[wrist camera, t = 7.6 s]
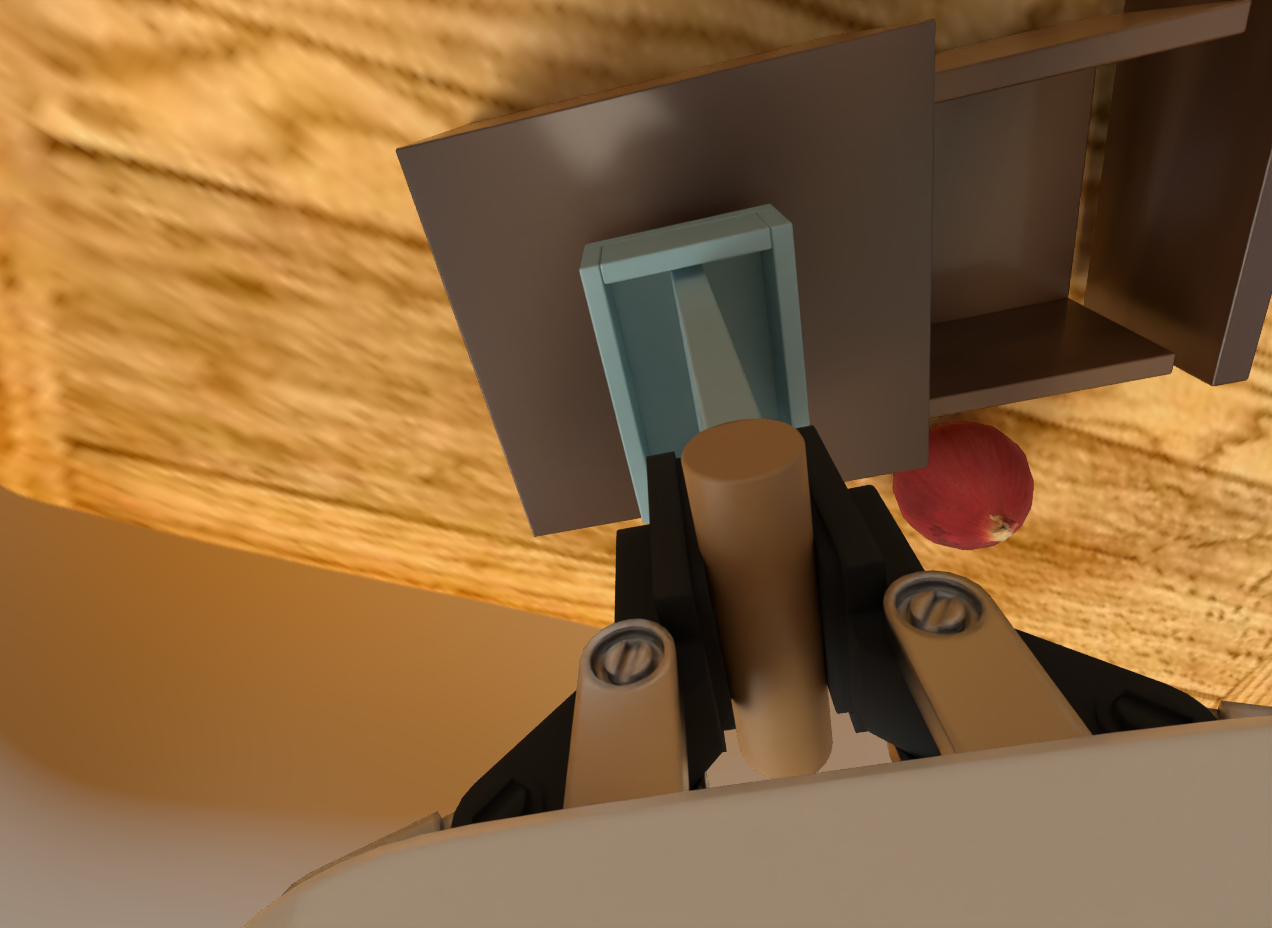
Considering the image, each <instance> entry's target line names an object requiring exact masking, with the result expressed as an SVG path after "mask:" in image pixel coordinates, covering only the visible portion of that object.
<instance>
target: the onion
mask: <svg viewBox="0 0 1272 928" xmlns="http://www.w3.org/2000/svg"><path fill="white" fill-rule="evenodd" d="M1033 490H1034V483H1033V478H1032V475H1031V472H1030V469H1029V466H1028V462H1027V458H1026V455H1025V454H1024V452H1023V451H1022V450H1021V448H1020V447H1019V446H1018V445H1017V444H1016V443H1015V442H1013V441H1012V440H1011V439H1009V438H1008V437H1007V436H1006V435H1004V434H1003V433H1002V432H1000V431H999V430H997V429H996V428H994V427H993V426H989V425H984V424H979V423H974V422H967V421H960V422H953V423H946V424H942V425H939V426H937V427H934V428H932V429H930V430H929V459H928V467H924V468H919V469H913V470H907V471H902V472H896V473H894V478H893V491H894V494H895V497H896V500H897V503H898V505H899V508H900V511H901V513H902V516H903V518H904V519H905V520H906V521H907V522H908V523H909V524H910V525H911V526H912V527H913V528H914V529H915V530H917V531H918V532H919V533H920V534H922V535H923V536H924V537H925V538H927V539H928V540H930V541H932V542H933V543H936V544H940V545H944V546H948V547H953V548H957V549H961V550H973V549H979V548H985V547H991V546H994V545H996V544H998V543H1000V542H1001V541H1005V540H1007V539H1008V538H1009V537H1010V536H1011V535H1012V534H1013V533H1014V532H1016V531H1017V530H1018V529H1019V528H1020V527H1021V526H1022V524H1023V522H1024V521H1025V519H1026V517H1027V515H1028V513H1029V511H1030V509H1031V506H1032V499H1033Z"/></svg>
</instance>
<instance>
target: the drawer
mask: <svg viewBox="0 0 1272 928" xmlns="http://www.w3.org/2000/svg"><path fill="white" fill-rule="evenodd" d="M1116 62H1117V65H1116V72H1115V79H1114V87H1113V94H1112V101H1111V109H1110V116H1109V124H1108V131H1107V138H1106V146H1105V153H1104V160H1103V168H1102V175H1101V182H1100V190H1099V197H1098V205H1097V212H1096V219H1095V227H1094V234H1093V241H1092V249H1091V256H1090V263H1089V271H1088V278H1087V285H1086V293H1085V300H1084V306H1083V305H1081V304H1079V303H1077V302H1075V301H1073V300H1071V299H1070V298H1068V295H1069V287H1070V278H1071V270H1072V262H1073V254H1074V246H1075V238H1076V230H1077V221H1078V213H1079V205H1080V197H1081V189H1082V181H1083V173H1084V164H1085V156H1086V148H1087V140H1088V132H1089V124H1090V116H1091V108H1092V99H1093V91H1094V83H1095V75H1096V67H1098V66H1103V65H1107V64H1111V63H1116ZM1271 295H1272V0H1125V6H1124V13H1120V14H1111V15H1103V16H1093V17H1087V18H1083V19H1079V20H1074V21H1070V22H1066V23H1062V24H1057V25H1053V26H1049V27H1045V28H1040V29H1036V30H1032V31H1028V32H1023V33H1019V34H1015V35H1011V36H1007V37H1002V38H998V39H994V40H990V41H985V42H981V43H977V44H973V45H968V46H964V47H960V48H956V49H952V50H947V51H943V52H939V53H935V94H934V155H933V216H932V277H931V337H930V398H929V418H934V417H939V416H945V415H950V414H955V413H961V412H966V411H972V410H977V409H983V408H988V407H993V406H999V405H1004V404H1010V403H1015V402H1020V401H1026V400H1031V399H1037V398H1042V397H1048V396H1053V395H1058V394H1064V393H1069V392H1075V391H1080V390H1085V389H1091V388H1096V387H1102V386H1107V385H1112V384H1118V383H1123V382H1129V381H1134V380H1140V379H1145V378H1150V377H1156V376H1161V375H1167V374H1170V373H1172V369H1173V365H1174V366H1176V367H1178V368H1179V369H1181V370H1183V371H1185V372H1187V373H1189V374H1190V375H1192V376H1194V377H1196V378H1198V379H1200V380H1202V381H1203V382H1205V383H1207V384H1209V385H1211V386H1218V385H1223V384H1229V383H1234V382H1240V381H1245V380H1247V379H1248V377H1249V373H1250V370H1251V366H1252V363H1253V359H1254V355H1255V352H1256V348H1257V345H1258V341H1259V338H1260V334H1261V330H1262V327H1263V323H1264V320H1265V316H1266V313H1267V309H1268V305H1269V302H1270V298H1271Z"/></svg>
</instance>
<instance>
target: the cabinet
mask: <svg viewBox="0 0 1272 928" xmlns="http://www.w3.org/2000/svg"><path fill="white" fill-rule="evenodd" d="M935 33H936V21H935V19H931V20H925V21H919V22H913V23H907V24H901V25H895V26H889V27H883V28H876V29H870V30H864V31H858V32H852V33H846V34H840V35H834V36H830V37H826V38H821V39H817V40H813V41H809V42H805V43H801V44H797V45H793V46H788V47H784V48H780V49H776V50H772V51H768V52H764V53H759V54H755V55H751V56H747V57H743V58H739V59H735V60H731V61H726V62H722V63H718V64H714V65H710V66H706V67H702V68H698V69H693V70H689V71H685V72H681V73H677V74H673V75H669V76H665V77H660V78H656V79H652V80H648V81H644V82H640V83H636V84H632V85H627V86H623V87H619V88H615V89H611V90H607V91H603V92H599V93H594V94H590V95H586V96H582V97H578V98H574V99H570V100H565V101H561V102H557V103H553V104H549V105H545V106H541V107H537V108H532V109H528V110H524V111H520V112H516V113H512V114H508V115H504V116H499V117H495V118H491V119H487V120H483V121H479V122H475V123H471V124H467V125H464V126H461V127H458V128H455V129H452V130H450V131H447V132H444V133H441V134H438V135H435V136H432V137H429V138H426V139H423V140H420V141H418V142H415V143H412V144H409V145H406V146H403V147H400V148H397V149H396V153H397V156H398V159H399V162H400V164H401V167H402V170H403V173H404V176H405V178H406V181H407V184H408V187H409V190H410V192H411V195H412V198H413V201H414V203H415V206H416V209H417V212H418V215H419V217H420V220H421V223H422V226H423V229H424V231H425V234H426V237H427V240H428V242H429V245H430V248H431V251H432V254H433V256H434V259H435V262H436V265H437V268H438V270H439V273H440V276H441V279H442V281H443V284H444V287H445V290H446V293H447V295H448V298H449V301H450V304H451V307H452V309H453V312H454V315H455V318H456V320H457V323H458V326H459V329H460V332H461V334H462V337H463V340H464V343H465V346H466V348H467V351H468V354H469V357H470V359H471V362H472V365H473V368H474V371H475V373H476V376H477V379H478V382H479V385H480V387H481V390H482V393H483V396H484V398H485V401H486V404H487V407H488V410H489V412H490V415H491V418H492V421H493V424H494V426H495V429H496V432H497V435H498V437H499V440H500V443H501V446H502V449H503V451H504V454H505V457H506V460H507V463H508V465H509V468H510V471H511V474H512V476H513V479H514V482H515V485H516V488H517V490H518V493H519V496H520V499H521V502H522V504H523V507H524V510H525V513H526V515H527V518H528V521H529V524H530V527H531V529H532V532H533V535H534V537H536V536H542V535H547V534H553V533H559V532H564V531H570V530H576V529H581V528H587V527H592V526H598V525H604V524H609V523H615V522H621V521H626V520H632V519H637V518H641V514H640V510H639V506H638V502H637V498H636V494H635V490H634V486H633V482H632V479H631V475H630V471H629V467H628V463H627V459H626V455H625V451H624V447H623V443H622V439H621V435H620V431H619V427H618V423H617V419H616V415H615V411H614V407H613V403H612V399H611V395H610V391H609V387H608V383H607V379H606V375H605V371H604V367H603V363H602V359H601V355H600V351H599V347H598V343H597V339H596V335H595V331H594V327H593V323H592V319H591V316H590V312H589V308H588V304H587V300H586V296H585V292H584V288H583V284H582V280H581V276H580V272H579V269H580V265H581V261H582V256H583V252H584V248H585V245H586V244H590V243H594V242H599V241H603V240H608V239H612V238H617V237H621V236H626V235H630V234H635V233H639V232H644V231H649V230H653V229H658V228H662V227H667V226H671V225H676V224H680V223H685V222H689V221H694V220H698V219H703V218H707V217H712V216H716V215H721V214H725V213H730V212H734V211H739V210H744V209H748V208H753V207H757V206H762V205H766V204H771V205H772V206H773V207H774V208H776V209H777V210H778V211H779V212H780V213H781V214H782V215H783V216H784V217H785V218H787V219H788V220H789V221H790V222H791V223H792V227H793V239H794V250H795V262H796V273H797V285H798V296H799V308H800V319H801V331H802V342H803V353H804V365H805V376H806V388H807V399H808V411H809V422H810V425H814V427H815V428H816V430H817V432H818V434H819V436H820V438H821V439H822V441H823V443H824V445H825V447H826V449H827V451H828V453H829V455H830V456H831V458H832V460H833V462H834V464H835V466H836V468H837V470H838V472H839V474H840V475H841V477H842V479H843V481H844V482H846V481H851V480H857V479H862V478H868V477H874V476H879V475H885V474H890V473H896V472H902V471H907V470H913V469H919V468H924V467H928V459H929V398H930V337H931V277H932V216H933V155H934V94H935Z"/></svg>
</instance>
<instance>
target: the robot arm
mask: <svg viewBox="0 0 1272 928" xmlns="http://www.w3.org/2000/svg"><path fill="white" fill-rule="evenodd" d="M795 429H796V430H797V431H798V432H799V433H800V434H801V436H802V437H803V439H804V442H805V449H806V460H807V471H808V482H809V492H810V503H811V514H812V525H813V540H814V551H815V562H816V572H817V583H818V594H819V605H820V615H821V626H822V637H823V648H824V658H825V669H826V680H827V686H828V689H829V692H830V695H831V698H832V701H833V704H834V707H835V710H836V712H837V713H838V714H840V713H847V712H849V715H850V718H851V721H852V723H853V726H854V729H855V732H856V733H859V732H866V731H869V732H871V733H872V734H874V735H876V736H878V737H880V738H882V739H884V740H885V741H887V746H888V750H889V755H890V758H891V760H892V763H885V764H878V765H870V766H863V767H856V768H849V769H842V770H834V771H827V772H821V773H813V774H806V775H798V776H791V777H784V778H777V779H770V780H763V781H756V782H748V783H742V784H735V785H727V786H720V787H714V788H709V780H708V776H707V772H706V771H707V770H708V768H709V767H710V766H711V765H712V764H713V762H714V761H715V760H716V759H717V758H718V757H719V755H720V754H721V753H722V752H726V743H725V737H724V730H732V729H736V725H735V719H734V713H733V707H732V701H731V695H730V690H729V685H728V680H727V676H726V671H725V666H724V661H723V656H722V651H721V646H720V641H719V636H718V631H717V626H716V621H715V616H714V611H713V606H712V601H711V596H710V591H709V586H708V581H707V576H706V572H705V567H704V562H703V557H702V555H701V553H700V550H699V546H698V541H697V536H696V531H695V526H694V521H693V516H692V511H691V507H690V502H689V497H688V492H687V487H686V482H685V477H684V472H683V467H682V462H681V458H676V455H675V452H674V451H672V452H667V453H662V454H656V455H651V456H646V465H647V485H648V504H649V524H648V525H642V526H637V527H631V528H626V529H620V530H618V531H617V536H616V580H615V623H613V624H611V625H609V626H607V627H605V628H604V629H602V630H600V631H599V632H598V633H597V634H596V635H594V636H593V637H592V638H591V639H590V640H589V642H588V643H587V645H586V646H585V648H584V649H583V652H582V655H581V658H580V662H579V672H578V680H577V690H576V691H575V692H574V693H573V694H572V695H570V696H569V697H568V698H567V699H566V700H565V701H564V702H563V703H562V704H561V705H560V706H559V707H558V708H557V709H555V710H554V711H553V712H552V713H551V714H550V715H549V716H548V717H547V718H545V719H544V720H543V721H542V722H541V723H540V724H539V725H538V726H537V727H536V728H535V729H533V730H532V731H531V732H530V733H529V734H528V735H527V736H526V737H525V738H524V739H523V740H522V741H520V742H519V743H518V744H517V745H516V746H515V747H514V748H513V749H512V750H511V751H510V752H508V753H507V754H506V755H505V756H504V757H503V758H502V759H501V760H500V761H499V762H498V763H497V764H495V765H494V766H493V767H492V768H491V769H490V770H489V771H488V772H487V773H486V774H485V775H483V776H482V777H481V778H480V779H479V780H478V781H477V782H476V783H475V784H474V785H473V786H472V787H471V788H470V789H469V791H468V792H467V793H466V794H465V795H464V796H463V797H462V799H461V801H460V803H459V805H458V807H457V809H456V811H455V812H454V813H452V814H450V815H448V816H445V817H444V818H441V816H440V815H439V813H438V812H435V813H433V814H431V815H429V816H427V817H425V818H423V819H421V820H419V821H416V822H414V823H412V824H410V825H408V826H406V827H404V828H402V829H400V830H398V831H396V832H393V833H391V834H389V835H387V836H385V837H383V838H381V839H379V840H377V841H375V842H373V843H371V844H368V845H366V846H364V847H362V848H360V849H358V850H356V851H354V852H352V853H350V854H348V855H346V856H344V857H341V858H340V859H338V860H335V861H333V862H331V863H329V864H327V865H325V866H323V867H321V868H319V869H317V870H315V871H312V872H310V873H309V874H307V875H306V876H304V877H303V878H301V879H300V880H298V881H297V882H295V883H293V884H292V885H291V886H290V887H289V888H288V889H287V890H286V891H285V892H284V893H283V894H282V895H281V896H280V897H279V898H277V899H276V900H275V901H273V902H272V903H271V904H269V905H268V906H267V907H265V908H264V909H262V910H261V911H260V912H259V913H257V914H256V915H255V916H254V917H253V918H252V919H251V920H250V921H249V922H248V923H247V924H245V925H244V926H243V927H242V928H1272V707H1270V706H1261V705H1253V704H1245V703H1237V702H1228V701H1221V702H1220V705H1219V707H1218V709H1210V708H1207V707H1205V706H1204V705H1202V704H1201V703H1200V702H1198V701H1197V700H1195V699H1194V698H1193V697H1191V696H1190V695H1188V694H1187V693H1184V692H1182V691H1180V690H1178V689H1176V688H1174V687H1172V686H1169V685H1167V684H1165V683H1162V682H1159V681H1157V680H1154V679H1151V678H1148V677H1146V676H1143V675H1140V674H1138V673H1135V672H1132V671H1129V670H1127V669H1124V668H1121V667H1118V666H1116V665H1113V664H1110V663H1107V662H1105V661H1102V660H1099V659H1097V658H1094V657H1091V656H1088V655H1086V654H1083V653H1080V652H1077V651H1075V650H1072V649H1069V648H1066V647H1064V646H1061V645H1058V644H1055V643H1053V642H1050V641H1047V640H1045V639H1042V638H1039V637H1036V636H1034V635H1031V634H1028V633H1025V632H1023V631H1020V630H1017V629H1014V628H1013V626H1012V625H1011V624H1010V622H1009V621H1008V619H1007V618H1006V617H1005V615H1004V614H1003V613H1002V611H1001V610H1000V609H999V607H998V606H997V605H996V603H995V602H994V600H993V599H992V598H991V596H990V595H989V594H988V593H987V592H986V591H985V590H984V589H983V588H982V587H981V586H980V585H978V584H976V583H975V582H973V581H971V580H969V579H968V578H966V577H963V576H960V575H957V574H953V573H950V572H942V571H934V570H932V571H925V570H924V569H923V567H922V565H921V564H920V562H919V560H918V559H917V557H916V555H915V553H914V552H913V550H912V548H911V547H910V545H909V543H908V542H907V540H906V538H905V537H904V535H903V533H902V532H901V530H900V528H899V527H898V525H897V523H896V522H895V520H894V518H893V517H892V515H891V513H890V512H889V510H888V508H887V506H886V505H885V503H884V501H883V500H882V498H881V496H880V495H879V493H878V491H877V490H876V489H875V487H874V486H872V485H866V486H861V487H855V488H850V489H847V487H846V485H845V483H844V481H843V479H842V477H841V475H840V474H839V472H838V470H837V468H836V466H835V464H834V462H833V460H832V458H831V456H830V455H829V453H828V451H827V449H826V447H825V445H824V443H823V441H822V439H821V438H820V436H819V434H818V432H817V430H816V428H815V427H814V425H810V426H805V427H799V428H795Z"/></svg>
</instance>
